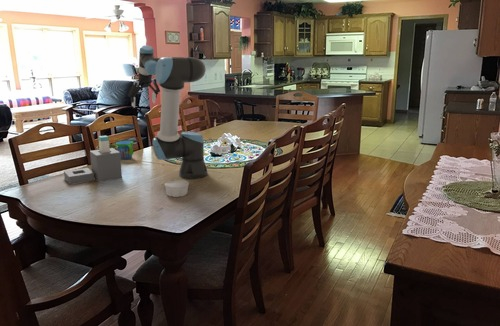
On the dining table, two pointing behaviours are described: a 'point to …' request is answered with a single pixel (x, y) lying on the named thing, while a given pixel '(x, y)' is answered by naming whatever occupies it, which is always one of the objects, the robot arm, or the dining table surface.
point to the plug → (104, 144)
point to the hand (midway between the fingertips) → (143, 104)
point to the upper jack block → (106, 165)
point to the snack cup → (125, 149)
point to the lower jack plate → (79, 175)
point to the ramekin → (176, 188)
